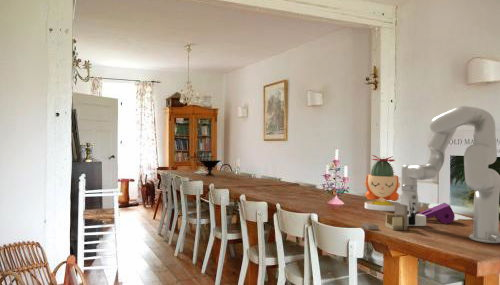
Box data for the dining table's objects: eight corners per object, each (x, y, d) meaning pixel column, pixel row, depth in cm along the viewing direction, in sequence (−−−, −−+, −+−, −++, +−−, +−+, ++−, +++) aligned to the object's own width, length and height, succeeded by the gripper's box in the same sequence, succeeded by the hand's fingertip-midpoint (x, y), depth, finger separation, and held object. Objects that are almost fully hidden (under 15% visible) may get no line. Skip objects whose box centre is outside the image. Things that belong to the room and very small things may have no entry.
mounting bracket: (423, 233, 212) (457, 220, 208) (416, 218, 212) (449, 205, 209) (419, 229, 221) (451, 216, 218) (412, 215, 222) (444, 202, 219)
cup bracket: (407, 230, 189) (407, 205, 189) (393, 230, 189) (394, 205, 189) (397, 225, 200) (397, 202, 200) (384, 225, 200) (384, 202, 200)
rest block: (378, 229, 190) (378, 225, 190) (368, 229, 189) (368, 225, 189) (372, 226, 198) (372, 222, 198) (362, 226, 197) (362, 222, 197)
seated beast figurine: (412, 215, 230) (412, 195, 230) (396, 214, 232) (396, 194, 233) (409, 213, 239) (410, 193, 239) (395, 212, 242) (395, 192, 242)
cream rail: (421, 223, 205) (421, 214, 205) (426, 225, 200) (426, 216, 200) (395, 224, 204) (395, 214, 204) (399, 226, 199) (399, 216, 199)
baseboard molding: (453, 221, 218) (473, 221, 219) (453, 216, 218) (473, 216, 219) (423, 211, 248) (441, 212, 250) (423, 207, 248) (441, 207, 250)
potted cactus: (400, 211, 243) (401, 155, 243) (363, 209, 250) (364, 154, 250) (398, 206, 263) (399, 155, 264) (364, 204, 270) (364, 154, 270)
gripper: (424, 190, 194) (424, 227, 194) (408, 186, 211) (408, 220, 211) (410, 190, 193) (410, 227, 193) (395, 186, 210) (394, 220, 210)
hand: (409, 223), depth 202 cm, fingers closed on cream rail, 5 cm apart
